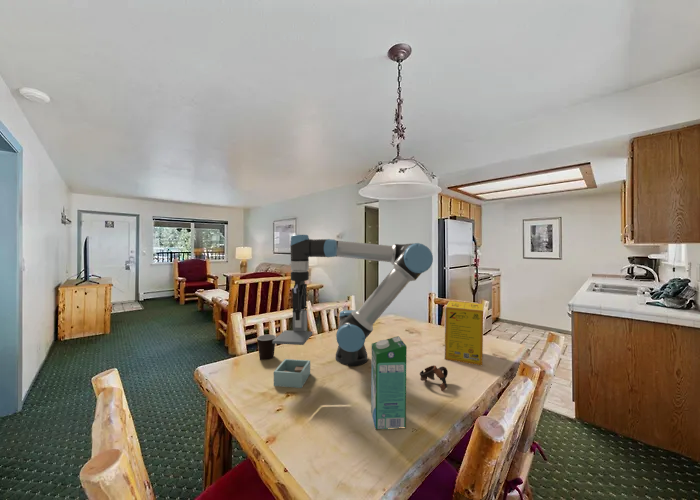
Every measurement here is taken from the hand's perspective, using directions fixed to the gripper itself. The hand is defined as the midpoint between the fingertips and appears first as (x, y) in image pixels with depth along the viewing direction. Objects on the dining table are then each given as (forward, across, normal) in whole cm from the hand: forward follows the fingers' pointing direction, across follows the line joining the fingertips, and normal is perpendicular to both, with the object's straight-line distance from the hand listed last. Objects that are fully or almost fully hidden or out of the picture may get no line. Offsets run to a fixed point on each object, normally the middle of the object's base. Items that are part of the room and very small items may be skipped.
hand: (300, 325), depth 121 cm
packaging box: (+21, -27, +74) cm, 82 cm away
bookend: (+3, +7, 0) cm, 7 cm away
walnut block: (+19, +6, +2) cm, 20 cm away
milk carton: (+20, +29, +37) cm, 51 cm away
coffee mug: (+20, -12, -20) cm, 31 cm away
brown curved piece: (+20, +3, +56) cm, 59 cm away
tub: (+20, +8, 0) cm, 21 cm away
